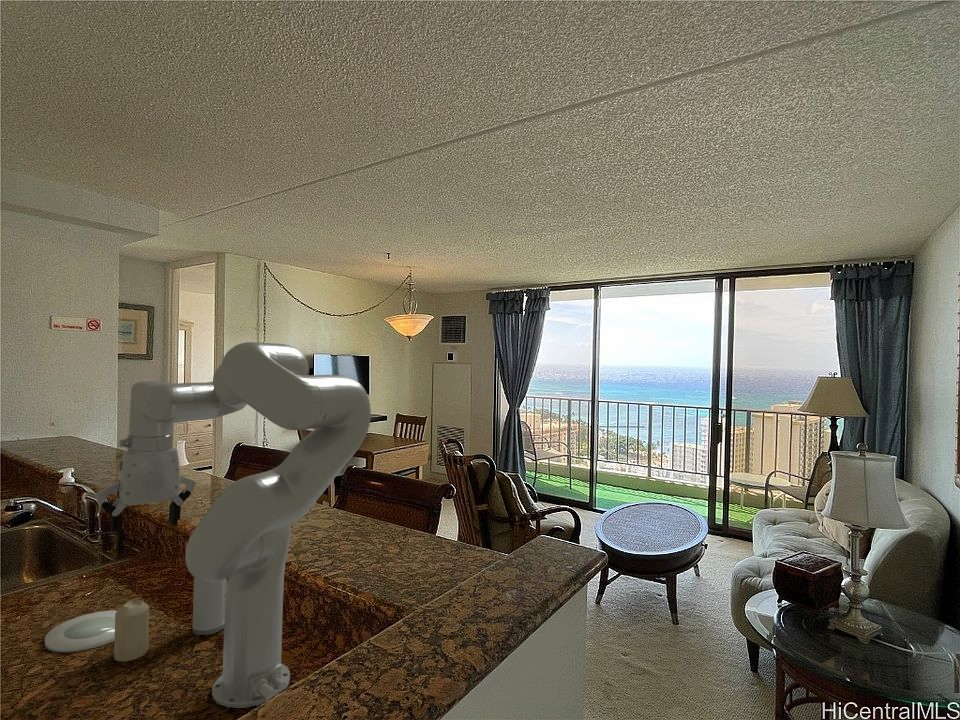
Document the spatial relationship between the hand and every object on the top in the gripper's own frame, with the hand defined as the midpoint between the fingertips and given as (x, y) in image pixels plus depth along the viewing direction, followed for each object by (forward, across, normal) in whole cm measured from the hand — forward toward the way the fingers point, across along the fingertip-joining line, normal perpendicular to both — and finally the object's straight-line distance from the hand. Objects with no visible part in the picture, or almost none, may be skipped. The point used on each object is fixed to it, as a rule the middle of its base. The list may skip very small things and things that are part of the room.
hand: (146, 529), depth 103 cm
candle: (+24, -2, -1) cm, 24 cm away
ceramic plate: (+24, -5, +14) cm, 28 cm away
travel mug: (+24, +12, -2) cm, 27 cm away
